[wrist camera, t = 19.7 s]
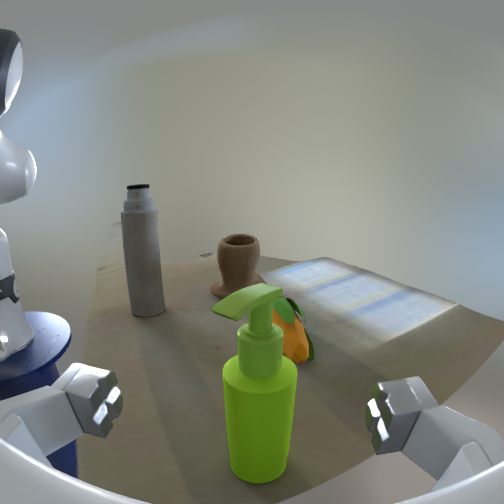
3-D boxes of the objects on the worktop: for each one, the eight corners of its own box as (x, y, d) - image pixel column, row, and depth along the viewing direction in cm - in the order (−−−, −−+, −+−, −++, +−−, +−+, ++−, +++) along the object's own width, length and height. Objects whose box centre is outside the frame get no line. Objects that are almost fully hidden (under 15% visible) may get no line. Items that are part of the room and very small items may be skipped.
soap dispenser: (212, 471, 23) (188, 294, 19) (253, 436, 29) (252, 271, 24) (258, 499, 20) (261, 319, 15) (297, 457, 25) (317, 284, 21)
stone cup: (231, 308, 66) (229, 242, 62) (204, 293, 75) (201, 235, 71) (279, 292, 75) (280, 234, 72) (250, 281, 84) (249, 229, 81)
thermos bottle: (137, 302, 67) (127, 185, 61) (168, 303, 68) (160, 183, 62) (126, 316, 60) (113, 186, 53) (160, 317, 60) (150, 183, 54)
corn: (291, 284, 58) (331, 331, 38) (292, 319, 59) (329, 374, 40) (254, 289, 57) (279, 340, 37) (257, 324, 58) (281, 384, 39)
